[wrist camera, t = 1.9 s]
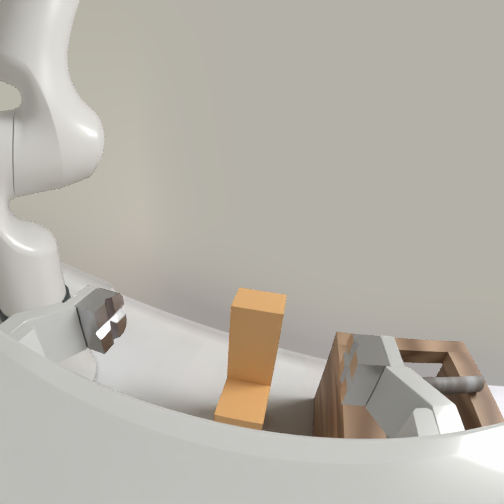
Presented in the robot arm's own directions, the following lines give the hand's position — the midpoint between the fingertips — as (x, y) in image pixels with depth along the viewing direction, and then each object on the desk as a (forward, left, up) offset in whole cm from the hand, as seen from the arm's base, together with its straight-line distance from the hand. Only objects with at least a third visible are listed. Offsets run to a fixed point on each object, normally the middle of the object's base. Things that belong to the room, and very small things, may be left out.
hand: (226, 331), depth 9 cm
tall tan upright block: (0, +12, -28) cm, 30 cm away
